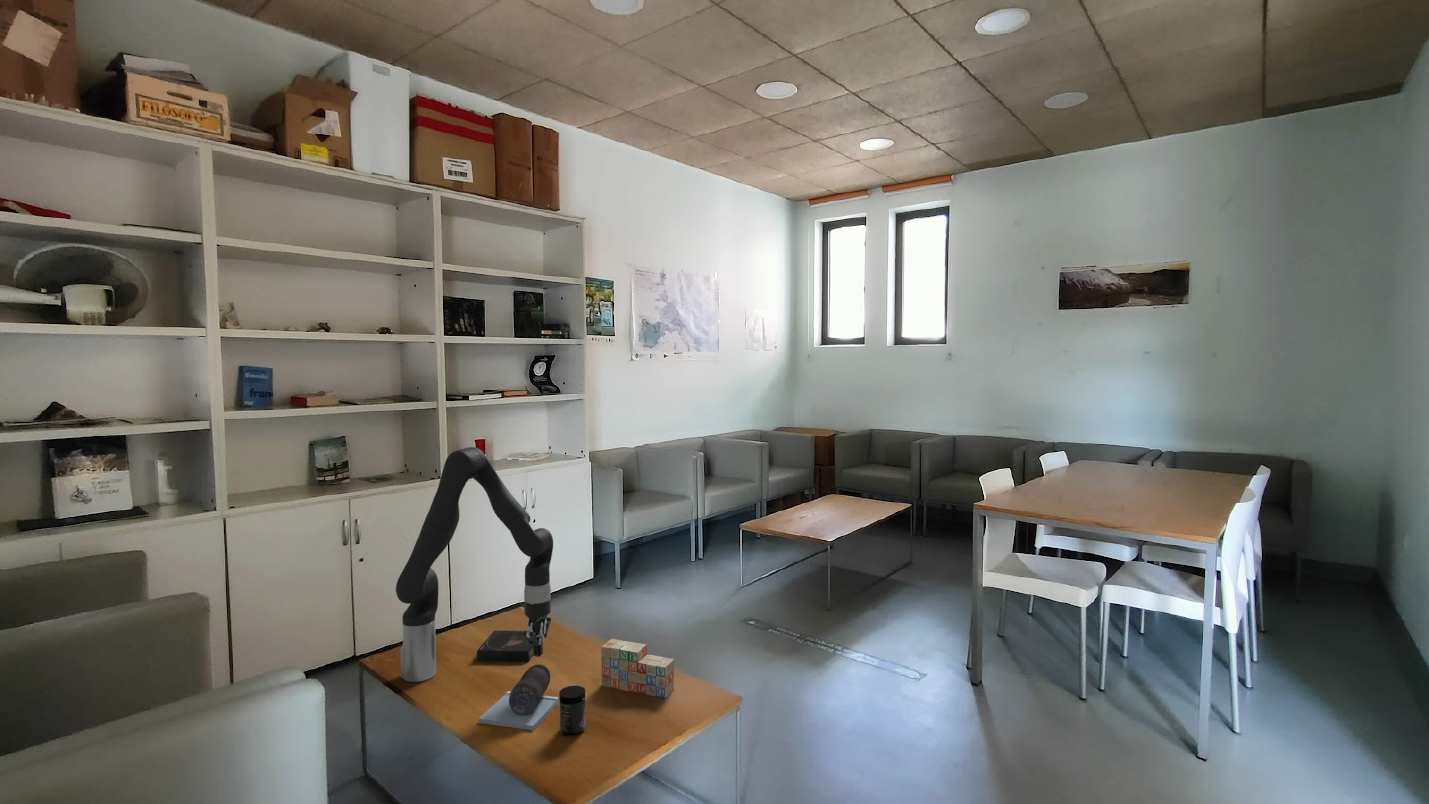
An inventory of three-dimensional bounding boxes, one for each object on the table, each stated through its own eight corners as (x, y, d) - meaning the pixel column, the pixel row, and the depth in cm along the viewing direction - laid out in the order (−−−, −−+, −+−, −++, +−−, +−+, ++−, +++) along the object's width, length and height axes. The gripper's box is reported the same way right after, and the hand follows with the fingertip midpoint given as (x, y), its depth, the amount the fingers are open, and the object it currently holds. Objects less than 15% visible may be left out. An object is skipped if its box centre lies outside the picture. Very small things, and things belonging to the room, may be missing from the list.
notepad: (478, 723, 179) (478, 717, 179) (507, 696, 194) (507, 691, 194) (533, 730, 176) (533, 724, 176) (558, 702, 191) (558, 697, 190)
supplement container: (579, 738, 172) (579, 699, 172) (555, 735, 173) (554, 696, 173) (589, 724, 179) (589, 686, 178) (565, 722, 180) (565, 684, 180)
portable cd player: (529, 663, 217) (529, 651, 217) (477, 662, 217) (477, 650, 217) (543, 642, 233) (543, 631, 233) (494, 641, 233) (494, 630, 233)
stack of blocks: (674, 689, 199) (674, 649, 198) (665, 699, 193) (665, 657, 192) (611, 676, 207) (611, 637, 206) (600, 685, 201) (600, 645, 200)
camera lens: (548, 692, 196) (531, 720, 181) (522, 683, 196) (503, 709, 181) (556, 667, 195) (541, 693, 180) (530, 658, 195) (512, 682, 180)
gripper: (536, 589, 203) (537, 645, 204) (514, 604, 190) (515, 664, 191) (559, 591, 202) (559, 647, 203) (538, 606, 189) (539, 666, 190)
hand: (538, 655), depth 197 cm, fingers closed
